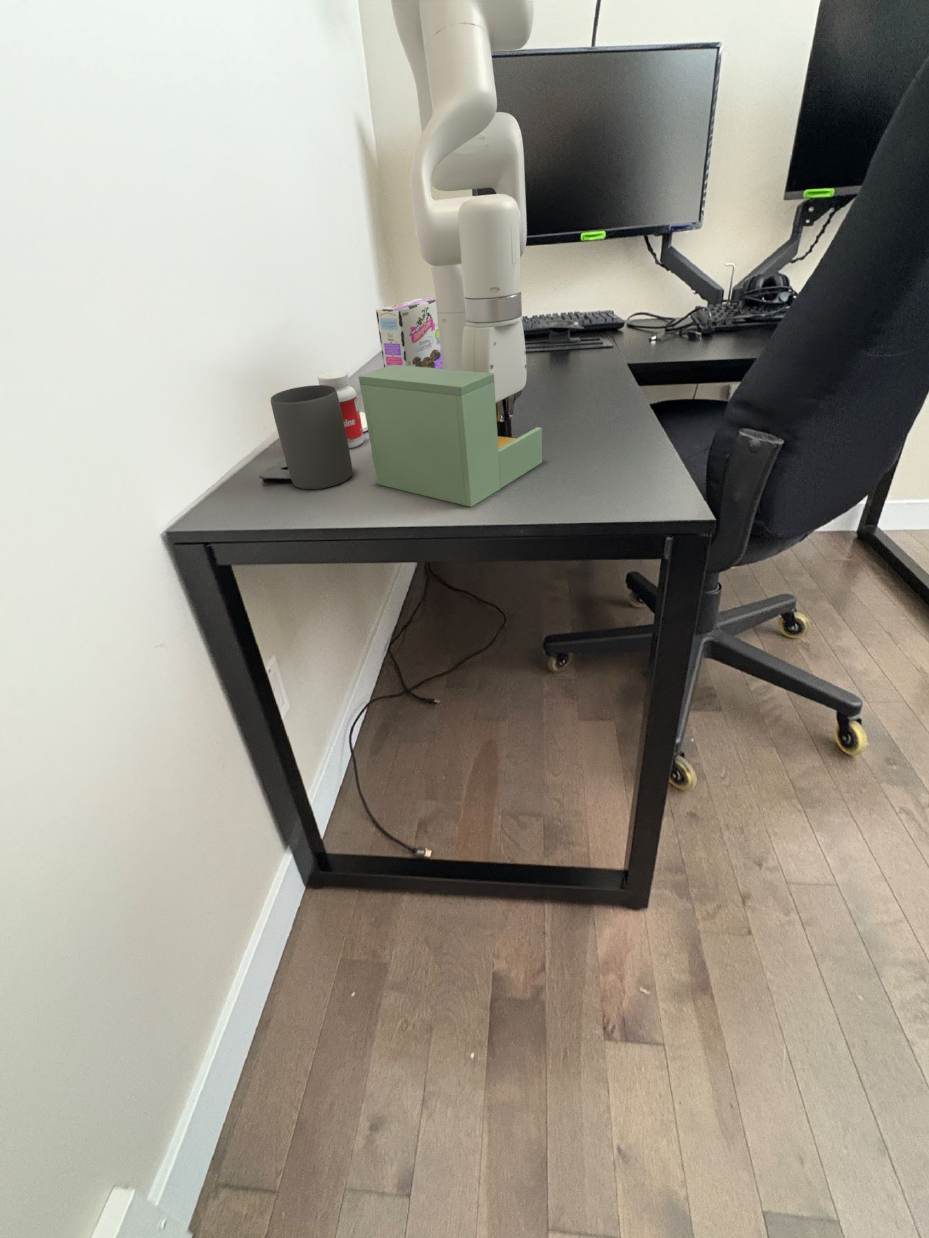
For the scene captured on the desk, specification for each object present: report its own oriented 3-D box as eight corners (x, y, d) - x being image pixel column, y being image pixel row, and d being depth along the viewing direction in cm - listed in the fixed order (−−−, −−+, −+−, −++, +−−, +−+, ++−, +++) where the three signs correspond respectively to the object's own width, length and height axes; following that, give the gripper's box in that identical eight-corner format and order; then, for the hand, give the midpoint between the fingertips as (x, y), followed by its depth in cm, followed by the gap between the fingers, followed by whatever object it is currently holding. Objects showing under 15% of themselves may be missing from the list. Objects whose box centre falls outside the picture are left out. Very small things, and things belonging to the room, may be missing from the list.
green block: (452, 446, 94) (442, 347, 86) (542, 462, 85) (541, 353, 77) (377, 484, 84) (358, 376, 76) (471, 507, 75) (460, 387, 67)
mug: (366, 474, 88) (350, 389, 81) (313, 495, 83) (291, 407, 76) (315, 456, 96) (297, 378, 89) (265, 475, 91) (241, 393, 84)
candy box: (410, 401, 119) (398, 309, 109) (387, 399, 122) (373, 309, 112) (448, 383, 128) (440, 297, 119) (426, 382, 131) (416, 297, 122)
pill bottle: (325, 452, 98) (309, 381, 91) (330, 440, 103) (316, 372, 96) (362, 448, 97) (349, 377, 91) (366, 436, 103) (354, 368, 96)
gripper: (501, 300, 86) (507, 427, 97) (436, 320, 77) (450, 458, 88) (546, 300, 82) (547, 433, 93) (483, 322, 73) (492, 466, 84)
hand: (500, 445), depth 90 cm, fingers closed
